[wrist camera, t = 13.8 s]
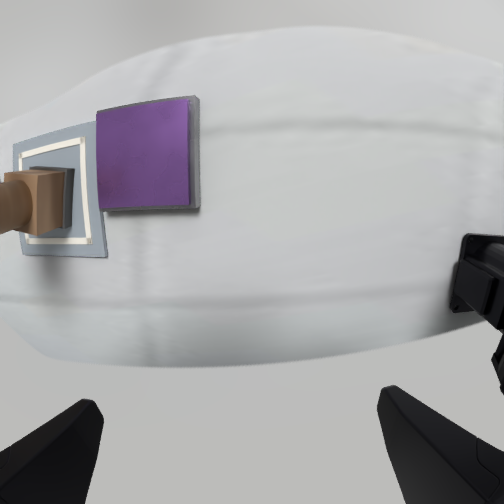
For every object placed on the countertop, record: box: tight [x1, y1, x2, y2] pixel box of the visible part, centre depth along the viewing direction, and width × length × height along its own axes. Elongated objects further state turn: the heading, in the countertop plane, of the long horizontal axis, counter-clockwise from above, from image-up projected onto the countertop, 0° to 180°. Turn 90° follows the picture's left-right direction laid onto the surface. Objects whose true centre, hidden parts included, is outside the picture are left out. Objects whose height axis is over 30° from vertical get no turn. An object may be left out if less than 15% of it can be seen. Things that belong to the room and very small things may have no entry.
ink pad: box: [96, 95, 201, 212], centre depth 17 cm, size 7×7×2 cm
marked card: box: [13, 121, 108, 257], centre depth 19 cm, size 10×10×1 cm
